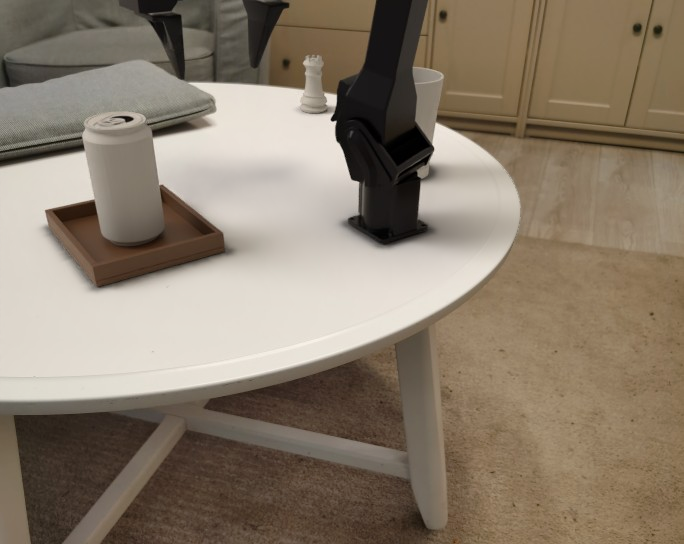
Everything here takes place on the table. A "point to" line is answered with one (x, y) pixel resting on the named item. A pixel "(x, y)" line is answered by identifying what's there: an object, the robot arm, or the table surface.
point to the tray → (129, 261)
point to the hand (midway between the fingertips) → (218, 73)
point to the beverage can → (124, 177)
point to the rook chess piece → (313, 86)
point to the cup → (427, 103)
